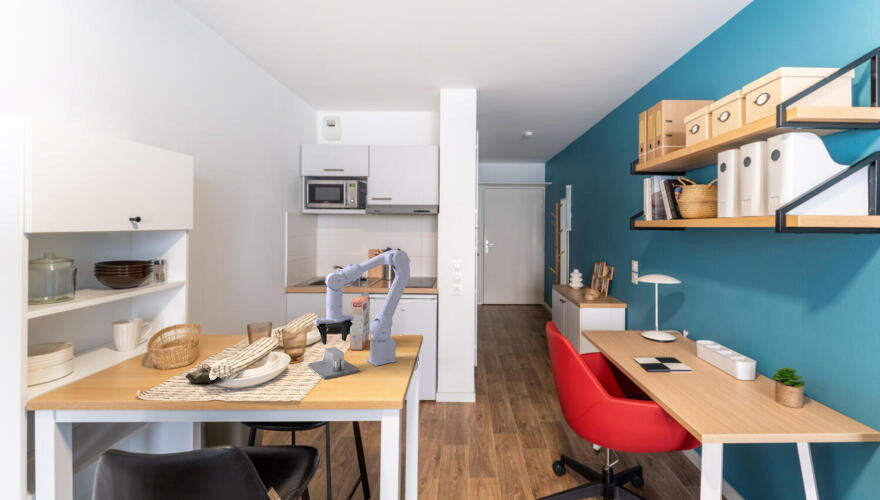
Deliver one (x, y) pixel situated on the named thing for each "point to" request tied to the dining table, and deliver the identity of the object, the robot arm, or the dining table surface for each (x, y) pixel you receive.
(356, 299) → the cracker box
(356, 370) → the pin tray
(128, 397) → the dining table surface
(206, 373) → the fossilized seashell
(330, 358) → the grey block
